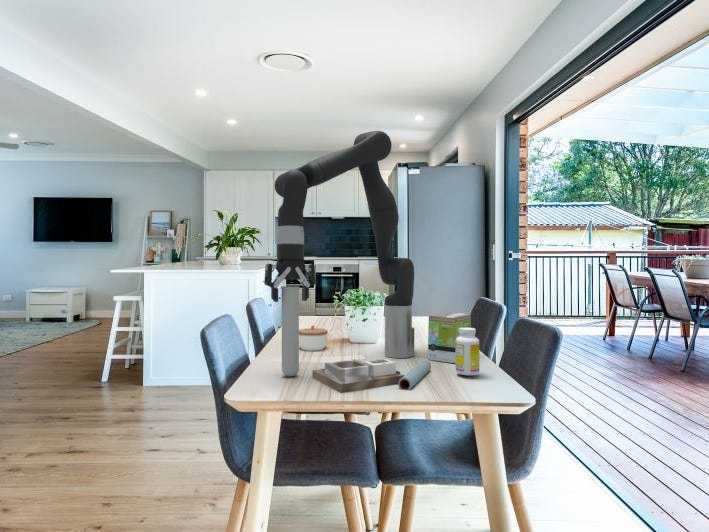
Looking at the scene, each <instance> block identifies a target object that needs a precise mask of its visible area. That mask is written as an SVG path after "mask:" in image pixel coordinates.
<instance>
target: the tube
mask: <svg viewBox="0 0 709 532" xmlns="http://www.w3.org/2000/svg"><path fill="white" fill-rule="evenodd" d="M300 288H301V287H300V286H296V285H295V286H294V285H291V286H290V285H289V286H287V285H286V286H280V289H281V372H282V374H283V376H286V377H293V376H297V375H298V374H299V371H300V360H299V359H300V345H299V330H300V327H299V326H300V319H299V318H300V313H299V311H300V302H299V301H300V300H299V299H300V295H299V293H300Z"/></svg>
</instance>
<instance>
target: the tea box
mask: <svg viewBox="0 0 709 532" xmlns="http://www.w3.org/2000/svg"><path fill="white" fill-rule="evenodd" d="M471 326H472V314H471V313H462V312H461V313H460V312H441V313H435V314H431V315H428V326H427V327H428V333H427V335H428V336H427V361H436V362H443V363H453V364H456V338H457V337H459V336H460V334H459V328H472V327H471Z"/></svg>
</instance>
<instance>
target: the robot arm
mask: <svg viewBox="0 0 709 532" xmlns="http://www.w3.org/2000/svg"><path fill="white" fill-rule="evenodd" d="M392 147H393V146H392V141H391V137H390V136H389V135H388V133H386V132H385V131H381V130H371V131H366V132H363V133H359V134H358V135H357V136H356V137H355V139H354V141H353V145H352V146H349V147H347V148H343V149H341V150H337V151H334V152H331V153H328V154H325V155H322V156H320V157H318V158H316V159H314V160H311V161H308V162H307V163H305V164H304V165H302V166H300V167H297V168H295V169H290V170H287V171H286V172H284V173H281V174H280V175H278V177H277V178H276V179H275V181H274V190H275V192H276V193H277V195H279V196H280V197H282V204H281V205H280V206H279V208H278V212H277V233H276V263H275V264H272V263H266V264H265V266H264V284H263V285H264V286H267V287H269V288H270V291H271V292H270V297H271V300H272V301H273V302H275V303H278V302H279V288H278V287H279V285H280V284H281V283H282V282H283V281H284V280H297V281H298V282H299V283H300V284H301V286H302V287H301V300H302V302H307V301H308V300H309V298H310V287H312V286H315V285H316V266H315V264H314V263H309V264H305V232H304V209H305V206H306V200H307V195H308V190H309V189H311V188H312V187H317V186H319V185H322V184H324V183H326V182H329V181H331V180H332V179H334V178H336V177H339V176H340V175H343V174H345V173H347V172H348V171H351V170H353V169H356V168H358V170H359V173H360V177H361V181H362V184H363V188H364V193H365V197H366V201H367V208H368V213H369V214H368V215H369V217H370V222H371V226H372V230H373V236H374V241H375V246H376V247H375V248H376V254H377V255H376V256H377V263H378V264H377V265H378V271H379V277H380V279H381V281H382V282H383V284H385V285H387V286H388V285H389V286H397V289H396V291H395V292H393V293H392V294H389V295H387V296H385V297H384V356H385V357H387V358H392V359H393V358H394V359H406V358H411V357H413V356H415V327H413V298H414V291H415V289H414V288H415V287H414V286H415V266H414V262H413V261H412V259H410V258H408V257H393V252H392V241H393V240H394V239H393V237H394V236H395V233H396V231H397V228H398V224H399V218H400V217H399V213H398V206H397V201H396V199H395V195H394V194H393V192H392V191H391V189H390V188H389V187H388V185H387V184H386V182H385V180H384V179H383V176H382V174H381V169H380V167H379V162H381V161H383V160H385V159H386V158H388V156H389V155H390V153H391V151H392ZM275 269H276V272H278V273H277V275H275V278H274V280H273V281H272V279H273V272H274V271H275ZM304 271H306V272H307V277H306V276H305V274H304ZM307 278H308V279H307Z"/></svg>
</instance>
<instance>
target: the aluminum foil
mask: <svg viewBox="0 0 709 532" xmlns="http://www.w3.org/2000/svg"><path fill="white" fill-rule="evenodd" d="M431 369H432V364H431V362H430V360H427V359H425V360H422V361H421V362H419V363H417V365H416V366H415V367H413V368H412V369H411V370H409V371H408V372H407V373H406V374H404V375H405V376H403V377H402V378H401V379H400V380H399V382H398V384H397V386H398V388H399V390H404V391H410V390H411V389H412V388H413V387H414V386H415V385H416V384H417V383H418V382H419V381H420V380H421V379H423V377H424V376H425V375H426V374H427V373H428V372H429V371H431Z"/></svg>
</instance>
